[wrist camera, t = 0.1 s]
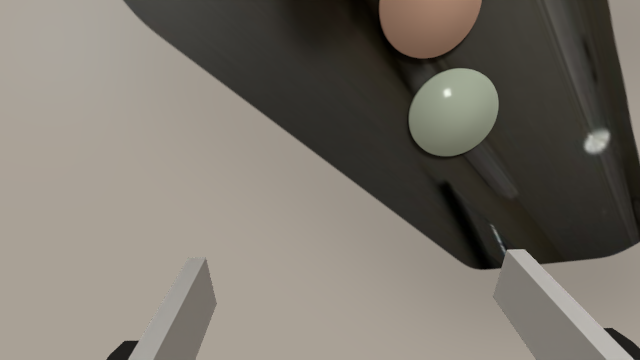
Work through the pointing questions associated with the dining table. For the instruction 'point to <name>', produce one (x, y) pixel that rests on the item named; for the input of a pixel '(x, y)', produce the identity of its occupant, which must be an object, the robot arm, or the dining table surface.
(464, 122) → the sage coaster
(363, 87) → the dining table surface
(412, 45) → the pink coaster
